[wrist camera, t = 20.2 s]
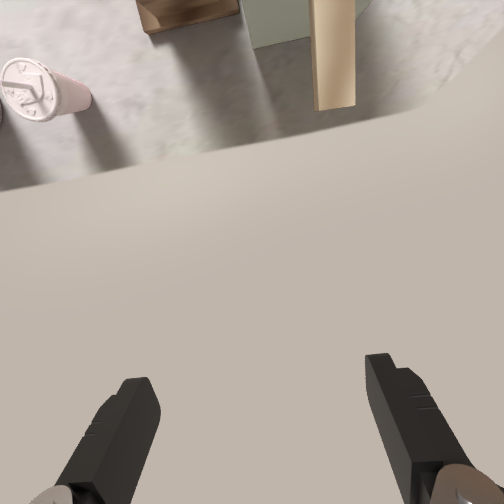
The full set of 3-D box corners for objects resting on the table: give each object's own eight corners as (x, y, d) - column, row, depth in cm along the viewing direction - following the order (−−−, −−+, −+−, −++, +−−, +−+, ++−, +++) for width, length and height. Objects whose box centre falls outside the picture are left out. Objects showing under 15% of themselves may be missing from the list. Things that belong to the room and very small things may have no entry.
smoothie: (110, 99, 42) (42, 92, 30) (82, 130, 44) (6, 136, 31) (73, 58, 41) (-16, 31, 28) (46, 92, 42) (-50, 82, 30)
